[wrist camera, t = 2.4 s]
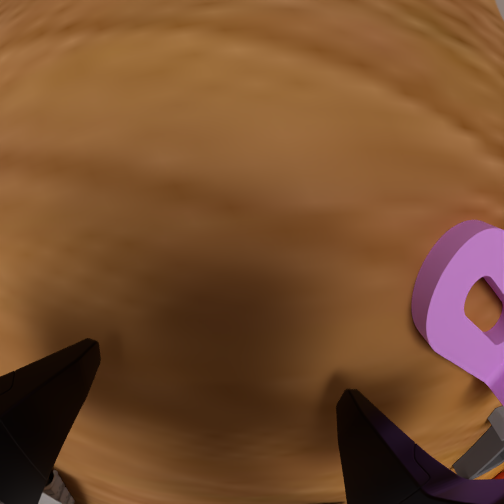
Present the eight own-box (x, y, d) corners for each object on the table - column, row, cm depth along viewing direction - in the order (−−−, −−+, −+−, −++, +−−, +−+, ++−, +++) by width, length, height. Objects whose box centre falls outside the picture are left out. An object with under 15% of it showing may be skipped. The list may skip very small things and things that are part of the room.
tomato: (479, 487, 26) (488, 507, 19) (501, 469, 24) (512, 489, 17) (492, 480, 27) (501, 498, 20) (513, 462, 24) (523, 481, 18)
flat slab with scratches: (-63, 354, 15) (-84, 376, 9) (77, 466, 17) (60, 506, 12) (13, 475, 28) (6, 490, 23) (102, 525, 31) (97, 542, 25)
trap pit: (492, 448, 16) (500, 464, 14) (452, 465, 16) (461, 484, 13) (533, 400, 14) (545, 416, 11) (501, 413, 13) (515, 433, 11)
